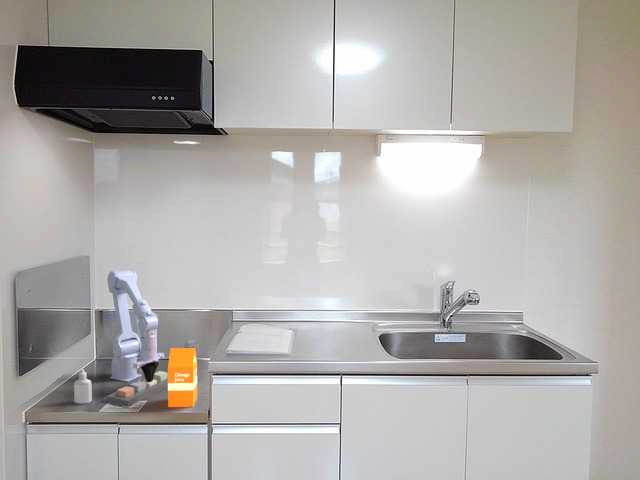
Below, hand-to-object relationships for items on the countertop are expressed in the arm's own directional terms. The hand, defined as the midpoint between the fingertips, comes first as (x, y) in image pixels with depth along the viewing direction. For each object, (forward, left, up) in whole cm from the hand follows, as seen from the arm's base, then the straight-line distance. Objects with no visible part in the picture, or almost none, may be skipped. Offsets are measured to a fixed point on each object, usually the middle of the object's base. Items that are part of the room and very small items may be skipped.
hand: (149, 381), depth 185 cm
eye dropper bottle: (-12, -20, -3) cm, 24 cm away
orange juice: (+20, -5, -3) cm, 21 cm away
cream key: (0, 0, -2) cm, 2 cm away
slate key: (0, -6, -1) cm, 6 cm away
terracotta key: (0, -12, -1) cm, 12 cm away
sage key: (0, +6, -1) cm, 6 cm away
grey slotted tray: (0, -3, -3) cm, 4 cm away
